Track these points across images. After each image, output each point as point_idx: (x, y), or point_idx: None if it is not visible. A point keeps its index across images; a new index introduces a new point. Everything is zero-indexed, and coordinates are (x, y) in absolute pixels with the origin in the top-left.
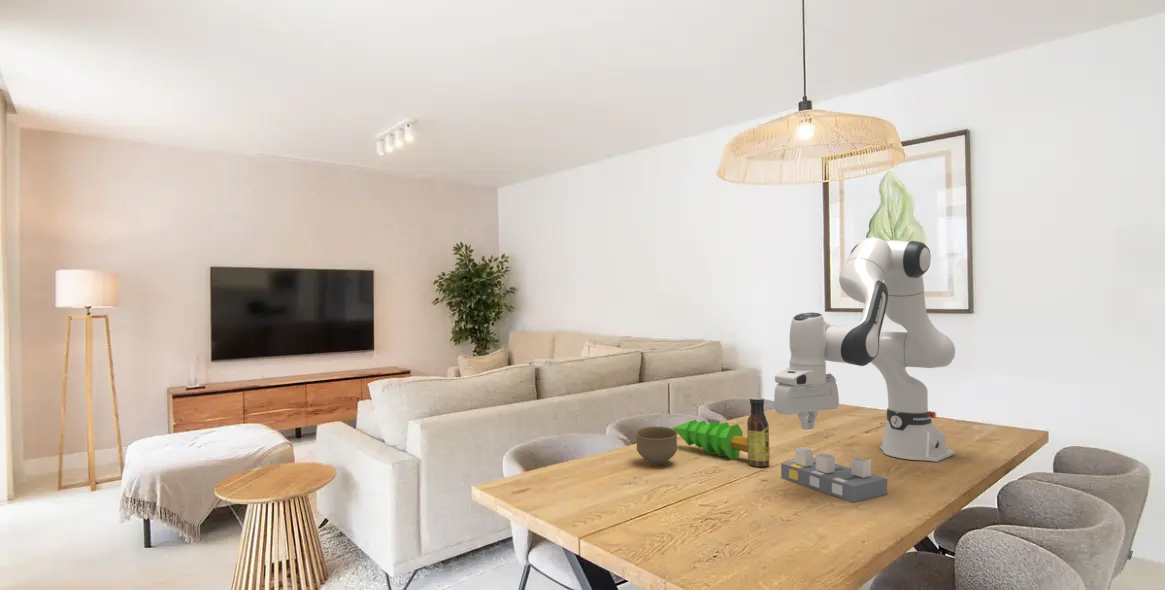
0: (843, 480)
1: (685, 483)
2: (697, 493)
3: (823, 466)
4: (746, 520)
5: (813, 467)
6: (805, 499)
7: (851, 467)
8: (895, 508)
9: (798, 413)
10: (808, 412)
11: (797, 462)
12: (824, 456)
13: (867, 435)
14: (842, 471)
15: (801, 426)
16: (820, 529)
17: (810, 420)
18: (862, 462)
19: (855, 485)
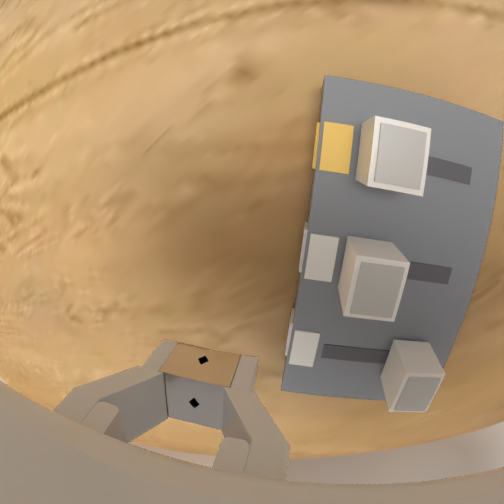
0: (304, 358)
1: (56, 22)
2: (29, 94)
3: (343, 280)
4: (22, 269)
5: (384, 199)
6: (197, 274)
7: (398, 353)
8: (325, 421)
9: (63, 411)
10: (218, 459)
11: (361, 135)
12: (352, 302)
13: None
14: (414, 298)
15: (159, 347)
16: (99, 373)
17: (225, 420)
18: (389, 407)
19: (293, 391)
